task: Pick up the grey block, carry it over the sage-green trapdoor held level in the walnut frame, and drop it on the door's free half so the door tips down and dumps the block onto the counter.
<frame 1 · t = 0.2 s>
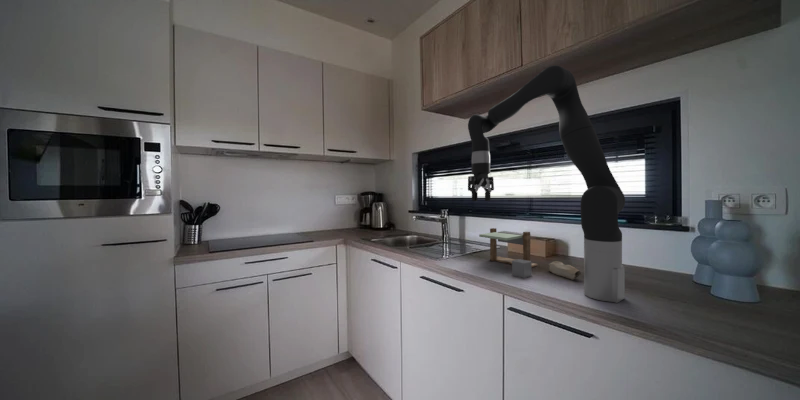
hand: (481, 201, 119), 28 cm above the worktop, tool pointing down, fingers open, 8 cm apart
trapdoor: (505, 239, 123), point 11 cm above the worktop, hinge at 0.0°
bone fragment: (565, 276, 107), on the worktop
grey block: (521, 275, 107), on the worktop
frame: (509, 263, 125), on the worktop
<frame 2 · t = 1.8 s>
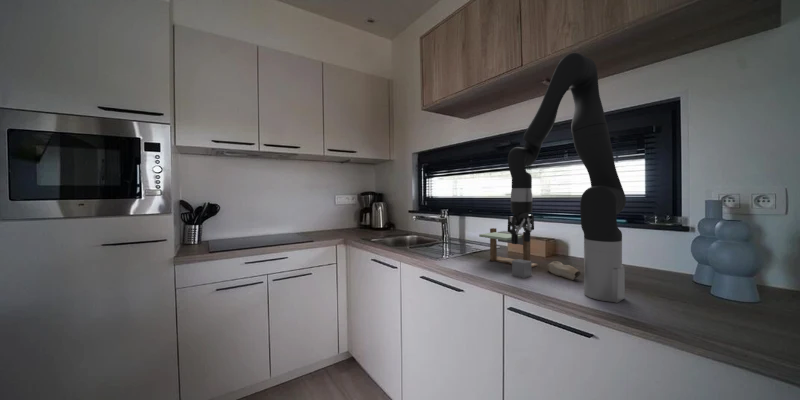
hand: (521, 242, 107), 12 cm above the worktop, tool pointing down, fingers open, 8 cm apart
nothing on the worktop moved.
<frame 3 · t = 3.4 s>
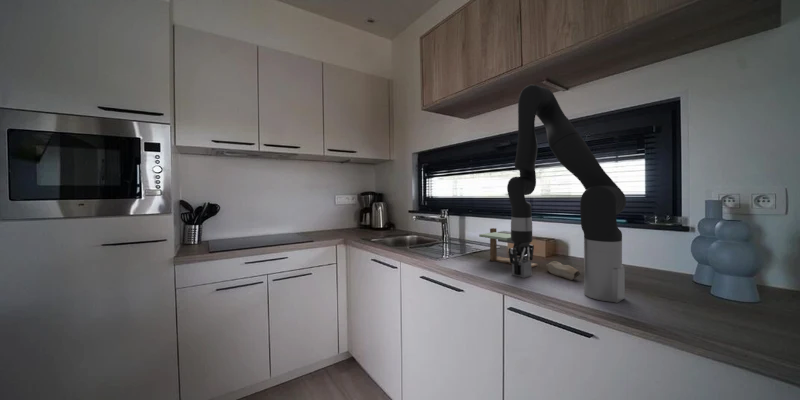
hand: (521, 273, 107), 1 cm above the worktop, tool pointing down, fingers closed on grey block, 5 cm apart
grey block: (521, 275, 107), on the worktop, touching gripper
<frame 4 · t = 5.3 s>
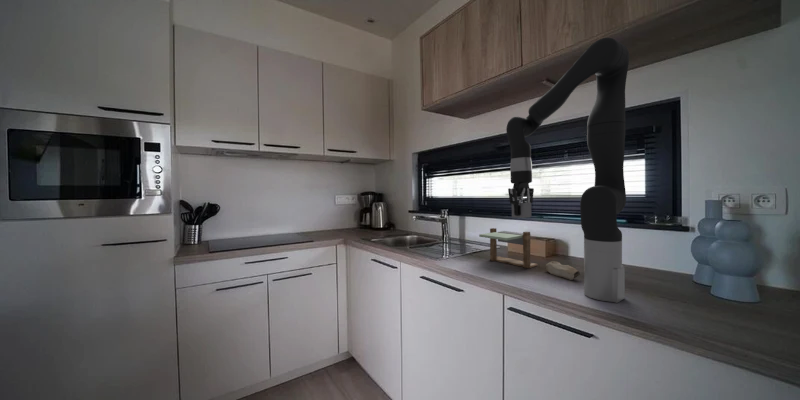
hand: (521, 215, 107), 23 cm above the worktop, tool pointing down, fingers closed on grey block, 5 cm apart
grey block: (521, 217, 107), point 22 cm above the worktop, touching gripper
everything else where it was.
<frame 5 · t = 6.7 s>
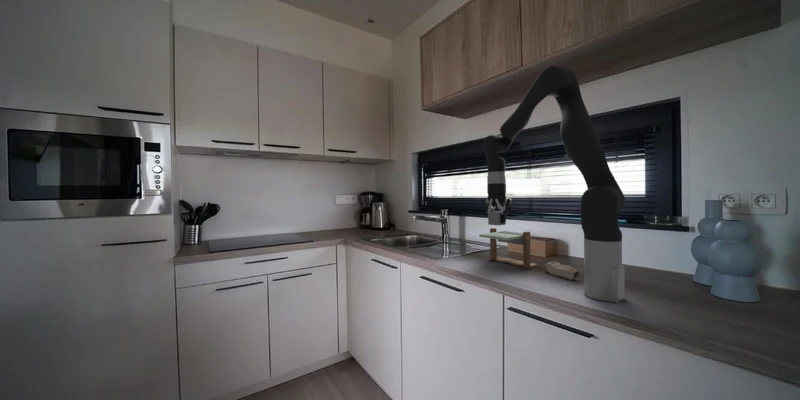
hand: (496, 222, 119), 19 cm above the worktop, tool pointing down, fingers closed on grey block, 5 cm apart
grey block: (496, 224, 119), point 18 cm above the worktop, touching gripper
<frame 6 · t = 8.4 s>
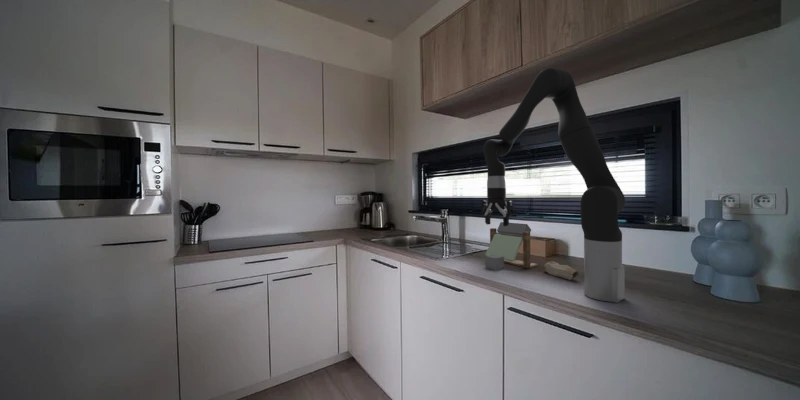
hand: (496, 225, 119), 18 cm above the worktop, tool pointing down, fingers open, 8 cm apart
trapdoor: (508, 242, 124), point 10 cm above the worktop, hinge at -50.9°, touching grey block
grey block: (498, 261, 120), point 2 cm above the worktop, tilted 90°, touching trapdoor
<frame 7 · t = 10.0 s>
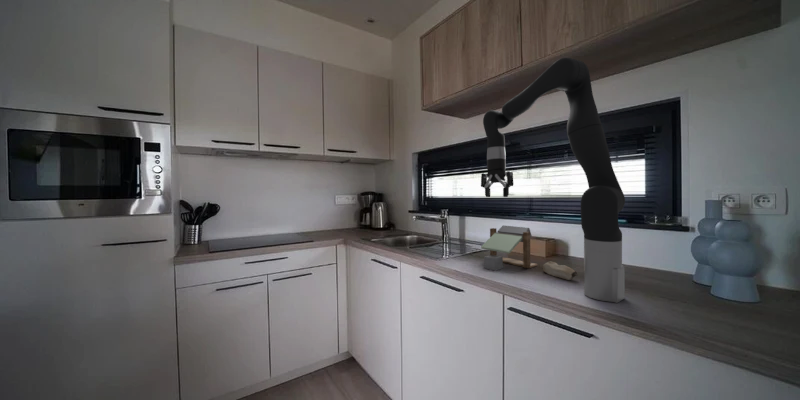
hand: (496, 196, 119), 30 cm above the worktop, tool pointing down, fingers open, 8 cm apart
trapdoor: (506, 241, 123), point 10 cm above the worktop, hinge at -27.3°
grey block: (497, 261, 119), point 2 cm above the worktop, tilted 90°
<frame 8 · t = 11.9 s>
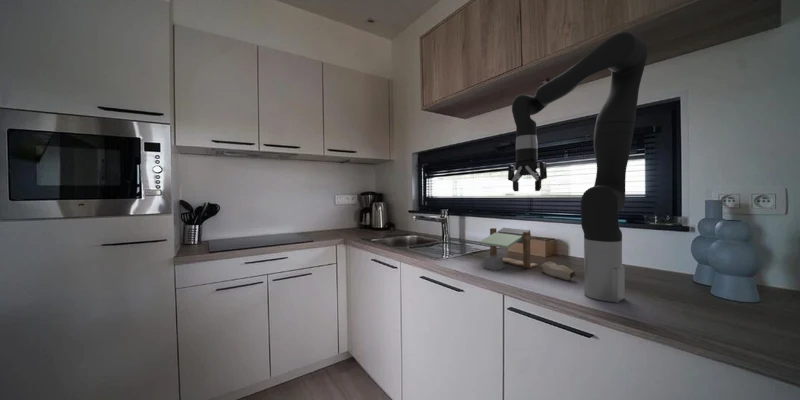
hand: (526, 191, 107), 32 cm above the worktop, tool pointing down, fingers open, 8 cm apart
trapdoor: (505, 240, 123), point 11 cm above the worktop, hinge at -15.4°
at the end: grey block point 2.4 cm above the worktop; grey block inside the target area (1.4 cm from its centre), point 2.4 cm above the worktop; the gripper is holding nothing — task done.
